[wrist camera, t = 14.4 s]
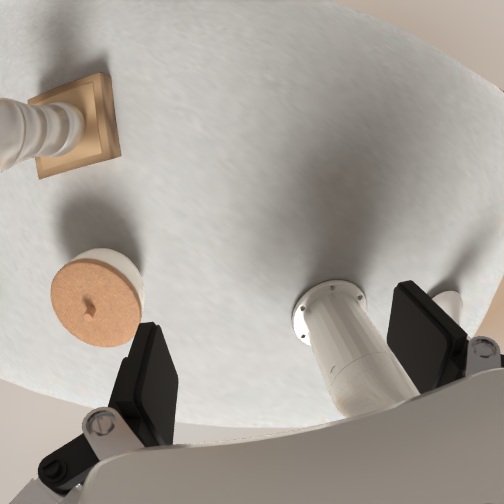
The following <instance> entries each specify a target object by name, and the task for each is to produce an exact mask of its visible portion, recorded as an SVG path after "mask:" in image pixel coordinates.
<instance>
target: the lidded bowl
mask: <svg viewBox="0 0 504 504" xmlns="http://www.w3.org/2000/svg"><path fill="white" fill-rule="evenodd" d="M51 301H52V305H53V309H54V311H55V313H56V315H57V317H58V319H59V321H60V322H61V323H62V325H63V326H64V327H65V328H66V329H67V330H68V331H69V332H70V333H71V334H72V335H74V336H75V337H77V338H78V339H80V340H81V341H83V342H86V343H88V344H91V345H93V346H98V347H115V346H119V345H122V344H124V343H126V342H128V341H129V340H130V339H131V338H132V337H133V336H134V335H135V334H136V331H137V328H138V325H139V324H140V322H141V317H142V312H143V308H144V302H145V290H144V284H143V280H142V277H141V275H140V273H139V271H138V269H137V268H136V266H135V265H134V264H133V263H132V261H130V260H129V259H128V258H127V257H126V256H124V255H123V254H121V253H119V252H117V251H115V250H111V249H106V248H96V249H90V250H88V251H85V252H83V253H81V254H79V255H77V256H76V257H74V258H73V259H72V260H71V261H70V262H69V263H67V264H66V265H64V266H63V267H62V268H61V269H60V270H59V271H58V272H57V274H56V276H55V277H54V279H53V282H52V285H51Z"/></svg>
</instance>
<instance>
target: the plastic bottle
mask: <svg viewBox="0 0 504 504" xmlns="http://www.w3.org/2000/svg"><path fill="white" fill-rule="evenodd" d="M84 130H85V120H84V116H83V114H82V112H81V111H80V109H79V108H78V107H76V106H74V105H73V104H71V103H68V102H55V103H51V104H48V105H31V104H24V103H21V102H18V101H15V100H12V99H9V98H0V173H1V172H3V171H5V170H7V169H9V168H11V167H12V166H14V165H16V164H18V163H20V162H21V161H24V160H27V159H30V158H33V157H40V156H44V157H60V156H63V155H65V154H67V153H69V152H70V151H72V150H73V149H74V148H75V147H76V146H77V145H78V144H79V142H80V141H81V139H82V137H83V134H84Z"/></svg>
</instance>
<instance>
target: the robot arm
mask: <svg viewBox="0 0 504 504" xmlns="http://www.w3.org/2000/svg"><path fill="white" fill-rule="evenodd" d="M366 312H367V302H366V298H365V296H364V294H363V292H362V291H361V290H360V289H359V288H358V287H357V286H356V285H355V284H353V283H351V282H348V281H344V280H331V281H327V282H323V283H321V284H318V285H316V286H314V287H313V288H311V289H310V290H309V291H307V292H306V293H305V294H304V295H303V296H302V297H301V299H300V300H299V301H298V303H297V305H296V307H295V308H294V312H293V315H292V324H293V328H294V331H295V333H296V335H297V337H298V338H299V339H300V340H301V341H302V342H304V343H305V344H307V345H310V346H311V347H312V350H313V352H314V355H315V357H316V360H317V362H318V365H319V367H320V370H321V372H322V375H323V377H324V380H325V382H326V385H327V388H328V390H329V393H330V395H331V398H332V400H333V403H334V405H335V407H336V408H337V409H338V411H339V412H340V413H341V414H343V415H344V416H345V417H347V418H346V419H342V420H338V421H334V422H330V423H326V424H321V425H317V426H312V427H308V428H303V429H298V430H293V431H288V432H282V433H277V434H271V435H264V436H258V437H250V438H242V439H234V440H224V441H215V442H204V443H192V444H176V445H173V434H174V422H175V411H176V401H177V392H178V375H177V372H176V370H175V367H174V364H173V361H172V359H171V356H170V353H169V350H168V347H167V345H166V342H165V339H164V336H163V333H162V330H161V327H160V325H155V323H154V322H147V323H140V324H139V325H138V328H137V331H136V334H135V337H134V340H133V343H132V346H131V349H130V352H129V355H128V357H125V358H124V359H123V360H122V363H121V366H120V369H119V372H118V375H117V378H116V381H115V384H114V388H113V391H112V394H111V398H110V401H109V404H108V407H100V408H97V409H94V410H92V411H91V412H89V413H88V414H87V415H86V417H85V418H84V420H83V423H82V430H83V434H81V435H80V436H78V437H77V438H75V439H73V440H72V441H70V442H69V443H67V444H65V445H64V446H62V447H61V448H59V449H57V450H56V451H54V452H53V453H51V454H50V455H48V456H46V457H45V458H44V459H43V460H42V461H41V463H40V464H39V467H38V476H39V477H38V478H37V479H36V480H34V479H32V480H31V481H30V482H29V483H28V484H27V485H26V486H25V487H24V488H23V489H22V491H20V493H19V494H18V495H17V496H16V497H15V498H14V499H13V500H12V501H11V502H10V503H9V504H504V355H502V354H500V348H499V346H498V344H497V343H496V342H495V341H494V340H492V339H490V338H488V337H484V336H478V337H474V338H472V339H471V340H470V341H469V340H468V339H467V335H468V334H467V333H466V332H465V331H464V330H463V329H462V328H461V327H460V326H459V325H458V324H457V323H456V322H455V321H454V320H453V319H452V318H451V317H450V316H449V315H448V314H447V313H446V312H445V311H444V310H443V309H442V308H441V307H440V306H439V305H438V304H437V303H436V302H434V301H433V300H432V299H431V298H430V297H429V296H428V295H427V294H426V293H425V292H424V291H423V290H422V289H421V288H420V287H419V286H418V285H416V284H415V283H414V282H413V281H412V280H409V281H404V282H400V283H398V285H397V287H395V288H394V293H393V301H392V308H391V315H390V321H389V327H388V333H387V343H386V342H385V340H384V339H383V337H382V336H381V335H380V333H379V332H378V330H377V329H376V327H375V326H374V325H373V323H372V322H371V320H370V319H369V318H368V316H367V315H366ZM387 344H388V345H387Z"/></svg>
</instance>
